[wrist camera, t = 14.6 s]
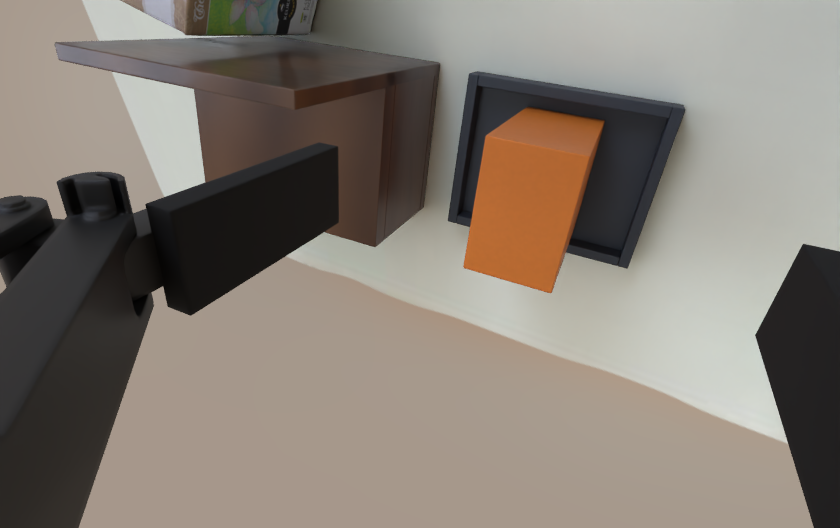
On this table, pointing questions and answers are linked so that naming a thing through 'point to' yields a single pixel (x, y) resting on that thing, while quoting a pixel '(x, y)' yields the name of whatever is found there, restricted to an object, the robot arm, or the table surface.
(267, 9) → the tea box
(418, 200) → the shelf
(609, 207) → the tray
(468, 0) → the table surface
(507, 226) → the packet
